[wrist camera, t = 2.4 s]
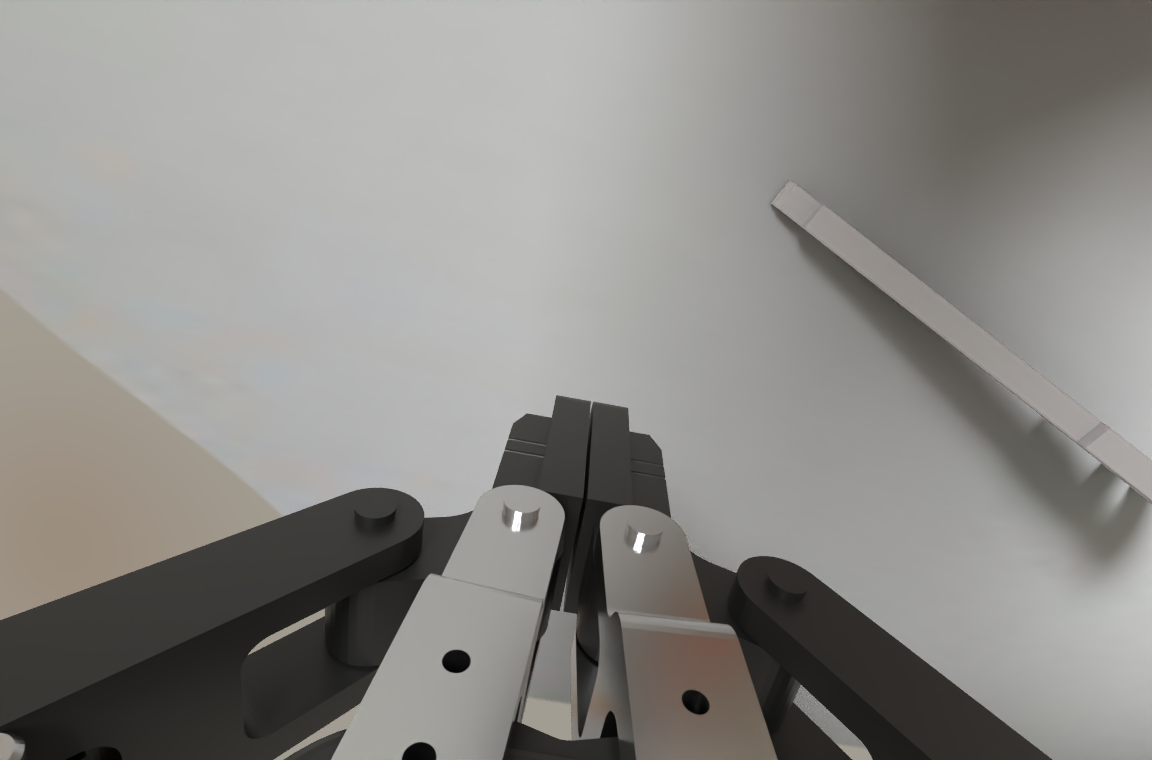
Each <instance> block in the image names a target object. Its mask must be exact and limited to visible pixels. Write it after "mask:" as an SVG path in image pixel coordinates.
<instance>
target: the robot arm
mask: <svg viewBox="0 0 1152 760" xmlns="http://www.w3.org/2000/svg"><path fill="white" fill-rule="evenodd" d="M590 405H591V401H586V400H580V399H575V398H569V397H563V396H558V395H556V400H555V405H554V410H553V415H552V418H549V417H544V416H538V415H532V414H526V415H524V416H523V417H522V418H520V419H519V420H517V421H516V422H515V423H513V426H512V429H511V432H510V435H509V439H508V441H507V444H506V447H505V451H504V454H503V457H502V460H501V463H500V466H499V469H498V472H497V475H496V478H495V481H494V485H493V488H492V489H491V490H489V491H487V492H486V493H484V494H483V495H482V496H481V497H480V499H479V500H478V502H477V504H476V506H475V508H474V510H473V511H471V512H468V513H465V514H462V515H457V516H451V517H434V518H424V511H423V508H422V506H421V505H420V503H419V502H418V501H417V500H416V499H414V498H413V497H412V496H410V495H408V494H406V493H404V492H401V491H398V490H393V489H388V488H366V489H361V490H356V491H353V492H349V493H347V494H344V495H341V496H339V497H336V498H333V499H330V500H328V501H325V502H322V503H319V504H317V505H314V506H311V507H309V508H306V509H303V510H300V511H298V512H295V513H292V514H289V515H287V516H284V517H281V518H279V519H276V520H273V521H270V522H268V523H265V524H262V525H259V526H257V527H254V528H251V529H248V530H246V531H243V532H240V533H238V534H235V535H232V536H230V537H227V538H224V539H221V540H219V541H216V542H213V543H210V544H208V545H205V546H202V547H200V548H197V549H194V550H191V551H189V552H186V553H183V554H180V555H178V556H175V557H172V558H169V559H167V560H164V561H162V562H159V563H156V564H153V565H151V566H148V567H145V568H142V569H139V570H137V571H134V572H131V573H128V574H126V575H124V576H120V577H118V578H115V579H112V580H109V581H107V582H104V583H101V584H98V585H96V586H93V587H90V588H88V589H85V590H82V591H80V592H77V593H74V594H71V595H68V596H66V597H63V598H60V599H57V600H55V601H52V602H49V603H47V604H44V605H41V606H38V607H36V608H33V609H30V610H28V611H25V612H22V613H19V614H17V615H14V616H11V617H8V618H6V619H3V620H0V760H273V759H275V758H277V757H278V756H280V755H281V754H283V753H284V752H286V751H287V750H289V749H290V748H292V747H293V746H295V745H296V744H298V743H300V742H301V741H303V740H304V739H306V738H307V737H309V736H310V735H312V734H314V733H315V732H317V731H318V730H320V729H321V728H323V727H324V726H326V725H327V724H329V723H330V722H332V721H334V720H335V719H337V718H338V717H340V716H341V715H343V714H344V713H346V712H348V711H349V710H350V709H352V708H354V707H355V706H357V705H358V704H360V705H359V707H358V709H357V711H356V713H355V715H354V717H353V718H352V720H351V722H350V724H349V726H348V728H347V729H346V730H342V731H339V732H336V733H334V734H331V735H329V736H327V737H324V738H322V739H319V740H317V741H315V742H313V743H311V744H310V745H308V746H306V747H304V748H302V749H301V750H299V751H297V752H295V753H294V754H292V755H290V756H289V757H288V758H286V759H284V760H852V759H851V758H850V757H849V756H848V755H847V754H846V753H845V752H843V750H842V749H841V748H839V747H838V746H837V745H836V744H835V743H834V742H833V741H832V740H831V739H830V738H829V737H828V736H827V735H826V734H825V733H824V732H823V731H822V730H821V729H820V728H819V727H818V726H817V725H816V724H815V723H814V722H813V721H812V720H811V719H810V718H809V717H808V716H807V715H806V714H805V713H804V712H803V711H801V710H800V709H799V708H798V707H797V706H796V705H795V704H794V703H793V701H794V698H795V696H796V694H797V692H798V689H799V687H800V685H802V686H803V687H804V688H805V689H807V690H808V691H809V692H810V693H811V694H812V695H813V696H814V697H815V698H816V699H817V700H818V701H819V702H820V703H821V704H823V705H824V706H825V707H826V708H827V709H828V710H829V711H830V712H831V713H832V714H833V715H834V716H835V717H836V718H837V719H839V720H840V721H841V722H842V723H843V724H844V725H845V726H846V727H847V728H848V729H849V730H850V731H851V732H852V733H853V734H855V735H856V736H857V737H858V738H859V739H860V740H861V741H862V743H863V744H864V745H865V746H866V748H867V749H868V751H869V753H870V755H871V756H872V759H873V760H1052V759H1051V758H1049V757H1048V756H1047V755H1046V754H1044V753H1043V752H1042V751H1040V750H1039V749H1038V748H1037V747H1035V746H1034V745H1033V744H1031V743H1030V742H1029V741H1027V740H1026V739H1025V738H1024V737H1022V736H1021V735H1020V734H1018V733H1017V732H1016V731H1014V730H1013V729H1012V728H1011V727H1009V726H1008V725H1007V724H1005V723H1004V722H1003V721H1002V720H1000V719H999V718H998V717H996V716H995V715H994V714H992V713H991V712H990V711H989V710H987V709H986V708H985V707H983V706H982V705H981V704H980V703H978V702H977V701H976V700H974V699H973V698H972V697H970V696H969V695H968V694H967V693H965V692H964V691H963V690H961V689H960V688H959V687H957V686H956V685H955V684H954V683H952V682H951V681H950V680H948V679H947V678H946V677H945V676H943V675H942V674H941V673H939V672H938V671H937V670H935V669H934V668H933V667H932V666H930V665H929V664H928V663H926V662H925V661H924V660H922V659H921V658H920V657H919V656H917V655H916V654H915V653H913V652H912V651H911V650H910V649H908V648H907V647H906V646H904V645H903V644H902V643H900V642H899V641H898V640H897V639H895V638H894V637H893V636H891V635H890V634H889V633H887V632H886V631H885V630H884V629H882V628H881V627H880V626H878V625H877V624H876V623H875V622H873V621H872V620H871V619H869V618H868V617H867V616H865V615H864V614H863V613H862V612H860V611H859V610H858V609H856V608H855V607H854V606H852V605H851V604H850V603H849V602H847V601H846V600H845V599H843V598H842V597H841V596H840V595H838V594H837V593H836V592H834V591H833V590H832V589H830V588H829V587H828V586H827V585H825V584H824V583H823V582H821V581H820V580H819V579H818V578H816V577H815V576H814V575H812V574H811V573H809V572H808V571H807V570H805V569H803V568H802V567H800V566H798V565H796V564H794V563H791V562H789V561H786V560H783V559H779V558H775V557H769V556H758V557H752V558H749V559H747V560H745V561H744V562H743V563H742V564H741V565H740V567H739V568H738V571H737V573H735V572H732V571H730V570H727V569H725V568H722V567H720V566H717V565H715V564H712V563H710V562H708V561H706V560H704V559H702V558H700V557H698V556H697V555H695V554H694V553H692V552H691V551H690V549H689V545H688V542H687V538H686V536H685V533H684V531H683V530H682V528H681V527H680V526H679V525H678V524H677V523H676V522H675V521H674V520H673V519H671V515H670V508H669V501H668V494H667V487H666V480H665V473H664V467H663V459H662V452H661V449H660V448H659V446H658V445H657V444H656V443H655V441H654V440H653V439H652V438H651V437H650V435H646V434H640V433H634V432H629V416H628V408H626V407H620V406H614V405H609V404H603V403H598V402H593V405H592V409H591V413H590ZM589 417H590V418H589ZM566 578H567V581H566ZM565 583H566V591H565V601H564V612H570V613H575V614H577V625H576V630H575V635H574V639H573V644H572V648H571V717H572V718H571V720H572V721H571V722H572V741H566V740H560V739H557V738H554V737H552V736H550V735H547V734H545V733H543V732H540V731H538V730H536V729H534V728H531V727H529V726H526V725H524V724H522V718H523V714H524V710H525V706H526V702H527V697H528V693H529V689H530V685H531V680H532V676H533V672H534V668H535V663H536V659H537V655H538V651H539V646H540V641H541V637H542V636H543V635H544V633H545V631H546V629H547V626H548V621H549V616H550V611H551V610H557V611H560V606H561V602H562V597H563V592H564V587H565ZM324 608H325V616H324V617H322V618H320V619H318V620H316V621H315V622H313V623H311V624H309V625H307V626H305V627H303V628H301V629H299V630H297V631H295V632H293V633H291V634H289V635H287V636H285V637H283V638H281V639H279V640H277V641H275V642H273V643H271V644H269V645H267V646H266V647H263V648H261V649H260V650H258V651H256V652H254V653H252V654H250V655H248V654H249V652H250V651H251V650H252V649H253V648H254V647H255V646H256V645H257V644H258V643H259V642H261V641H262V640H263V639H265V638H266V637H268V636H270V635H272V634H274V633H276V632H278V631H280V630H282V629H284V628H286V627H288V626H290V625H292V624H294V623H296V622H298V621H300V620H302V619H304V618H306V617H308V616H310V615H312V614H314V613H316V612H318V611H320V610H322V609H324ZM247 655H248V656H247Z"/></svg>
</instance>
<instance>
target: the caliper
mask: <svg viewBox="0 0 1152 760" xmlns="http://www.w3.org/2000/svg"><path fill="white" fill-rule="evenodd" d="M771 204H773V205H774V206H775V207H776V208H778V209H779V210H780V211H781V212H783V213H784V214H785V215H787V216H788V217H789V218H790V219H792V220H793V221H794V222H795V223H797V224H798V225H799V226H800V227H802V228H803V229H804V230H805V231H807V232H808V233H809V234H810V235H812V236H813V237H814V238H816V239H817V240H818V241H819V242H821V243H822V244H823V245H824V246H826V247H827V248H828V249H829V250H831V251H832V252H833V253H835V254H836V255H837V256H838V257H840V258H841V259H842V260H844V261H845V262H846V263H847V264H849V265H850V266H851V267H852V268H854V269H855V270H856V271H858V272H859V273H860V274H861V275H863V276H864V277H865V278H867V279H868V280H869V281H870V282H872V283H873V284H874V285H875V286H877V287H878V288H879V289H881V290H882V291H883V292H884V293H886V294H887V295H888V296H889V297H891V298H892V299H893V300H895V301H896V302H897V303H898V304H900V305H901V306H902V307H904V308H905V309H906V310H907V311H909V312H910V313H911V314H912V315H914V316H915V317H916V318H918V319H919V320H920V321H921V322H923V323H924V324H925V325H927V326H928V327H929V328H930V329H932V330H933V331H934V332H935V333H937V334H938V335H939V336H941V337H942V338H943V339H944V340H946V341H947V342H948V343H950V344H951V345H952V346H953V347H955V348H956V349H957V350H958V351H960V352H961V353H962V354H964V355H965V356H966V357H967V358H969V359H970V360H971V361H973V362H974V363H975V364H976V365H978V366H979V367H980V368H981V369H983V370H984V371H985V372H987V373H988V374H989V375H990V376H992V377H993V378H994V379H996V380H997V381H998V382H999V383H1001V384H1002V385H1003V386H1004V387H1006V388H1007V389H1008V390H1010V391H1011V392H1012V393H1013V394H1015V395H1016V396H1017V397H1018V398H1020V399H1021V400H1022V401H1024V402H1025V403H1026V404H1027V405H1029V406H1030V407H1031V408H1033V409H1034V410H1035V411H1036V412H1038V413H1039V414H1040V415H1041V416H1043V417H1044V418H1045V419H1047V420H1048V421H1049V422H1050V423H1051V424H1052V425H1053V426H1055V427H1056V428H1057V429H1059V430H1060V431H1061V432H1063V433H1064V434H1065V435H1066V436H1068V437H1069V438H1070V439H1072V440H1073V441H1074V442H1075V443H1077V444H1078V445H1079V446H1080V447H1082V448H1083V449H1084V450H1086V451H1087V452H1088V453H1089V454H1091V455H1092V456H1093V457H1095V458H1096V459H1097V460H1098V461H1100V462H1101V463H1102V465H1103V466H1104V467H1105V468H1107V469H1108V470H1109V471H1111V472H1112V473H1113V474H1115V475H1116V476H1117V477H1119V478H1120V479H1121V480H1123V481H1124V482H1125V483H1127V484H1128V485H1129V486H1130V487H1131V488H1132V489H1133V490H1135V491H1136V492H1137V493H1139V494H1140V495H1141V496H1142V497H1144V498H1145V499H1146V500H1148V501H1149V502H1150V503H1152V460H1150V459H1149V458H1148V457H1147V456H1145V455H1144V454H1143V453H1141V452H1140V451H1139V450H1138V449H1136V448H1135V447H1134V446H1133V445H1131V444H1130V443H1129V442H1127V441H1126V440H1125V439H1124V438H1122V437H1121V436H1120V435H1119V434H1117V433H1116V432H1115V431H1113V430H1112V429H1111V428H1109V427H1108V426H1106V425H1105V424H1103V423H1102V422H1101V421H1099V420H1098V419H1097V418H1095V417H1094V416H1093V415H1092V414H1090V413H1089V412H1088V411H1086V410H1085V409H1084V408H1083V407H1081V406H1080V405H1079V404H1078V403H1076V402H1075V401H1074V400H1072V399H1071V398H1070V397H1069V396H1067V395H1066V394H1065V393H1064V392H1062V391H1061V390H1060V389H1058V388H1057V387H1056V386H1055V385H1053V384H1052V383H1051V382H1050V381H1048V380H1047V379H1046V378H1044V377H1043V376H1042V375H1041V374H1039V373H1038V372H1037V371H1036V370H1034V369H1033V368H1032V367H1030V366H1029V365H1028V364H1027V363H1025V362H1024V361H1023V360H1022V359H1020V358H1019V357H1018V356H1016V355H1015V354H1014V353H1013V352H1011V351H1010V350H1009V349H1007V348H1006V347H1005V346H1004V345H1002V344H1001V343H1000V342H999V341H997V340H996V339H995V338H993V337H992V336H991V335H990V334H988V333H987V332H986V331H985V330H983V329H982V328H981V327H979V326H978V325H977V324H976V323H974V322H973V321H972V320H971V319H969V318H968V317H967V316H965V315H964V314H963V313H962V312H960V311H959V310H958V309H957V308H955V307H954V306H953V305H951V304H950V303H949V302H948V301H946V300H945V299H944V298H943V297H941V296H940V295H939V294H937V293H936V292H935V291H934V290H932V289H931V288H930V287H928V286H927V285H926V284H925V283H923V282H922V281H921V280H920V279H918V278H917V277H916V276H914V275H913V274H912V273H911V272H909V271H908V270H907V269H906V268H904V267H903V266H902V265H900V264H899V263H898V262H897V261H895V260H894V259H893V258H892V257H890V256H889V255H888V254H886V253H885V252H884V251H883V250H881V249H880V248H879V247H877V246H876V245H875V244H874V243H872V242H871V241H870V240H869V239H867V238H866V237H865V236H863V235H862V234H861V233H860V232H858V231H857V230H856V229H855V228H853V227H852V226H851V225H849V224H848V223H847V222H846V221H844V220H843V219H842V218H841V217H839V216H838V215H837V214H835V213H834V212H833V211H832V210H830V209H829V208H828V207H826V206H825V205H824V204H821V203H820V202H818V201H817V200H816V199H815V198H813V197H812V196H811V195H810V194H808V193H807V192H806V191H804V190H803V189H802V188H801V187H799V186H798V185H796V184H795V183H794V182H792V181H791V180H789V182H788V183H787V184H786V185H785V186H784V188H783V189H782V190H781V191H780V193H779V194H778V195H777V196H776V197H775V199H774V200H773V201H772V202H771Z"/></svg>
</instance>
